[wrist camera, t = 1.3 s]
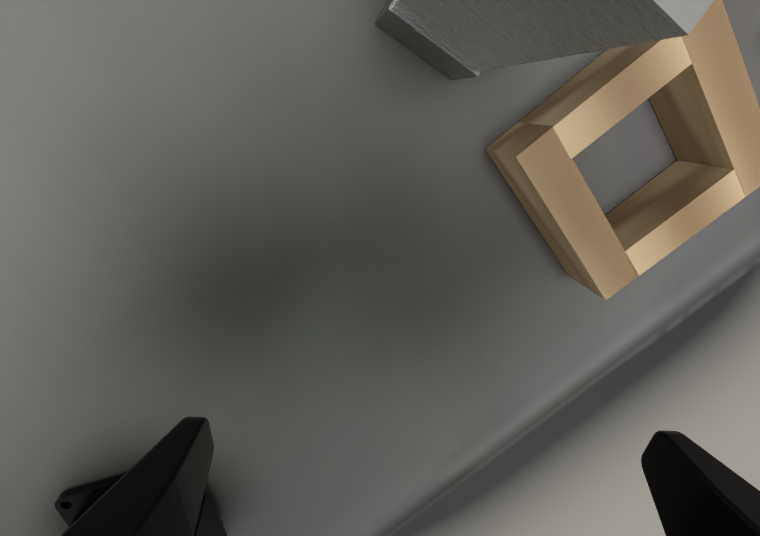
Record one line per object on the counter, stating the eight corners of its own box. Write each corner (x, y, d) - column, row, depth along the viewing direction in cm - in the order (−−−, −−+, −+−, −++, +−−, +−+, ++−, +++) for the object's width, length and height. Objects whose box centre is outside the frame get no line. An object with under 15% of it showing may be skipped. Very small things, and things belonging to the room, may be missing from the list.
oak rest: (568, 275, 22) (605, 300, 19) (485, 148, 19) (515, 156, 16) (718, 161, 21) (781, 170, 18) (656, 9, 18) (719, -8, 15)
